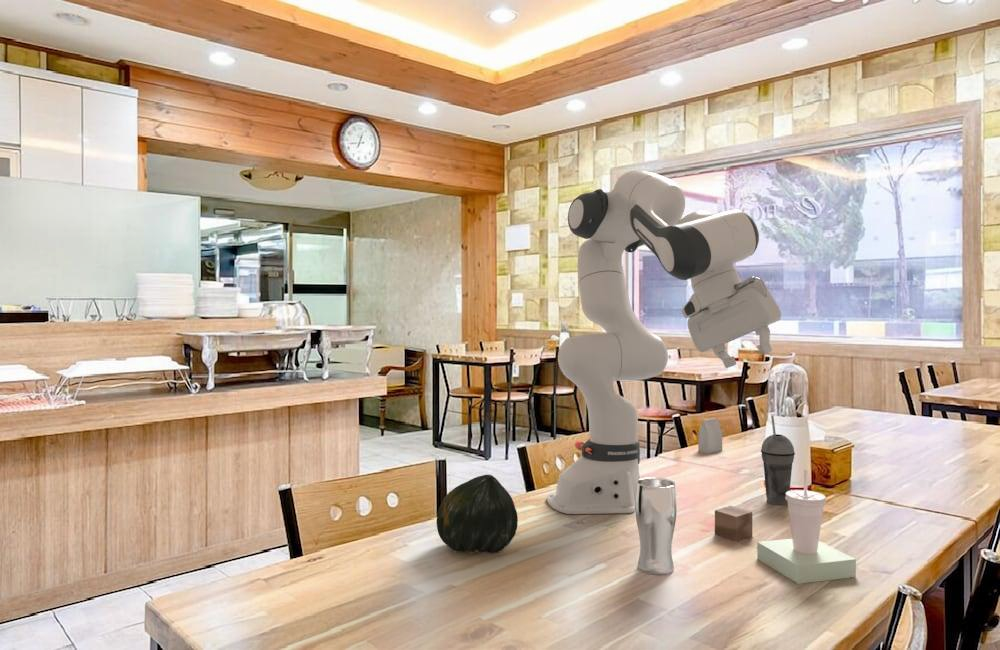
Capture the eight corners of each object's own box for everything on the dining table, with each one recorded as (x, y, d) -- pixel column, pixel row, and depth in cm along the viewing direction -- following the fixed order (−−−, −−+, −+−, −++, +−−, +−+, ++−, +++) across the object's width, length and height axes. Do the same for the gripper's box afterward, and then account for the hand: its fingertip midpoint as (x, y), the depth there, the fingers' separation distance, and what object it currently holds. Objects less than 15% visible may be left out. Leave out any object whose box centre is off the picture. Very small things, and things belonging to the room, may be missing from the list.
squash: (424, 509, 131) (442, 464, 121) (494, 503, 137) (516, 459, 127) (440, 577, 121) (460, 533, 112) (514, 567, 127) (539, 524, 118)
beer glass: (653, 579, 110) (653, 490, 109) (627, 565, 116) (626, 480, 115) (685, 571, 113) (685, 484, 112) (657, 557, 119) (657, 475, 119)
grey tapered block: (722, 450, 205) (722, 418, 204) (708, 453, 201) (708, 421, 200) (712, 448, 208) (712, 417, 207) (698, 451, 204) (698, 419, 203)
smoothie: (825, 546, 116) (825, 467, 115) (826, 559, 110) (827, 476, 109) (785, 541, 118) (785, 463, 118) (784, 554, 112) (785, 472, 112)
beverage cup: (798, 507, 147) (798, 418, 147) (763, 506, 149) (763, 417, 148) (790, 498, 154) (791, 413, 154) (757, 496, 156) (758, 412, 155)
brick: (736, 542, 127) (736, 516, 126) (714, 535, 131) (714, 510, 131) (752, 537, 129) (752, 511, 129) (730, 530, 134) (730, 505, 133)
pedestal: (798, 583, 108) (798, 565, 107) (757, 558, 118) (757, 542, 118) (855, 577, 110) (855, 559, 110) (810, 552, 121) (810, 536, 121)
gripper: (770, 269, 120) (802, 340, 118) (698, 307, 138) (724, 369, 135) (746, 275, 117) (778, 348, 115) (676, 313, 135) (702, 377, 133)
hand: (748, 360), depth 125 cm, fingers open, 8 cm apart
